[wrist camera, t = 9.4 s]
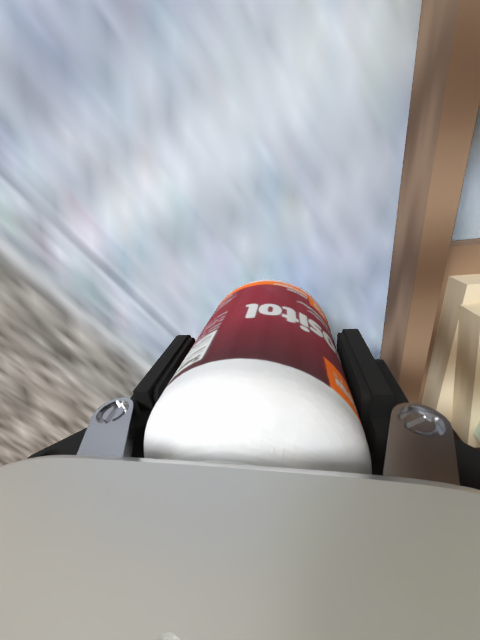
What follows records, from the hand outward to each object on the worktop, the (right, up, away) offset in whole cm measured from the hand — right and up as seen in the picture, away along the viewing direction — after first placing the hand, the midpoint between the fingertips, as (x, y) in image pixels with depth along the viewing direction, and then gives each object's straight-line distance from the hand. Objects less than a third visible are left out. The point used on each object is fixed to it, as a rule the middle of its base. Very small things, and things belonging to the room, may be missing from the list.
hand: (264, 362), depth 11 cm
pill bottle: (+1, +1, +3) cm, 3 cm away
